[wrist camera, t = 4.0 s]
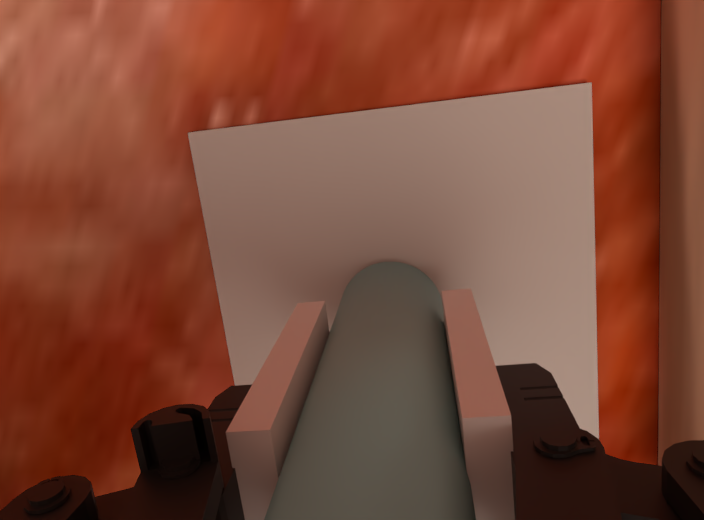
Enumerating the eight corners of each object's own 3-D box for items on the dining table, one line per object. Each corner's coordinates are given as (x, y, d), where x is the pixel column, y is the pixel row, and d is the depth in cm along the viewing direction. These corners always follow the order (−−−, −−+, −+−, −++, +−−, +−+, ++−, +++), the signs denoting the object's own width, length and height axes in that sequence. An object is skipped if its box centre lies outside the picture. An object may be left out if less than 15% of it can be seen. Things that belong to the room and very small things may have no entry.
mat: (253, 464, 22) (251, 471, 21) (192, 131, 19) (187, 132, 18) (595, 449, 20) (599, 456, 20) (587, 82, 17) (591, 82, 17)
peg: (347, 361, 19) (251, 753, 8) (334, 266, 18) (206, 543, 7) (446, 354, 19) (505, 755, 7) (438, 257, 18) (487, 534, 6)
